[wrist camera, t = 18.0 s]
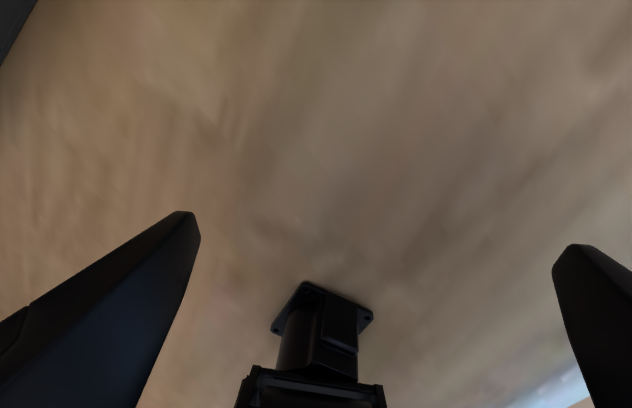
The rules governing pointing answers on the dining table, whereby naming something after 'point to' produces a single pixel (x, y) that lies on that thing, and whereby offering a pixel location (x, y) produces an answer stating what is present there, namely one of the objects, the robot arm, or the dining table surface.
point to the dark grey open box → (12, 21)
